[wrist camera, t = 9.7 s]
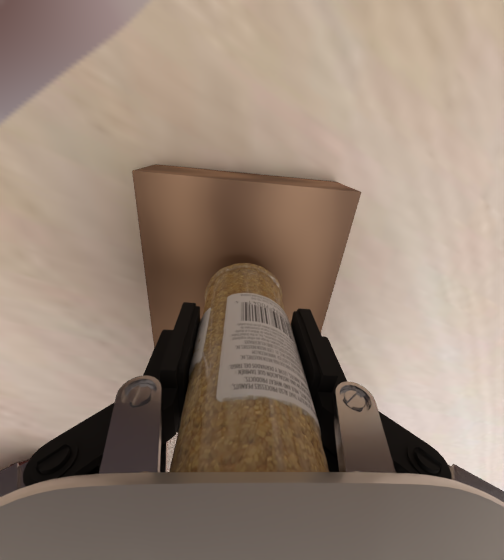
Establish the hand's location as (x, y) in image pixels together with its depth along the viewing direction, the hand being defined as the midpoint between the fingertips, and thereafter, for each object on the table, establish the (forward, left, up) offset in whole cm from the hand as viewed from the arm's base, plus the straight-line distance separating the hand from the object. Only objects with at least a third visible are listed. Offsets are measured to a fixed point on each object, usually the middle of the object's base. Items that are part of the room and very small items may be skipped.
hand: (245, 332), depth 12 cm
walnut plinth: (0, 0, -9) cm, 9 cm away
